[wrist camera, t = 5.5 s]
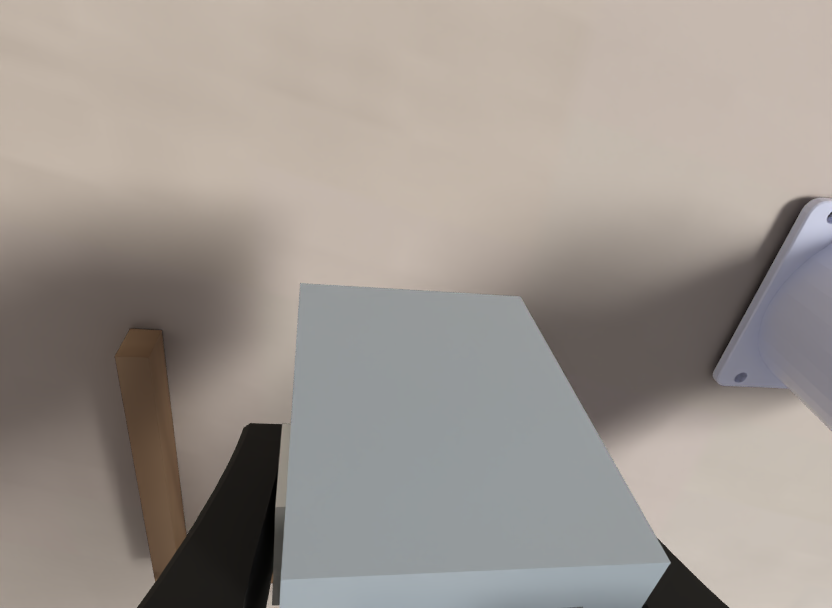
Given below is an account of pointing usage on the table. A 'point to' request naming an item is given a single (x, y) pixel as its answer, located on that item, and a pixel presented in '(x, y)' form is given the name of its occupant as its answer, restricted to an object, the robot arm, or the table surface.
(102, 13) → the table surface
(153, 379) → the bay
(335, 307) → the block
